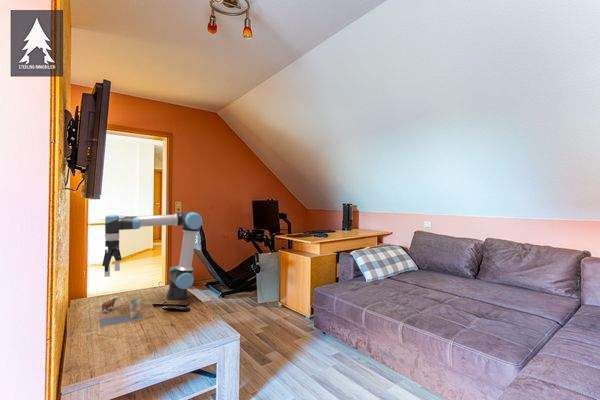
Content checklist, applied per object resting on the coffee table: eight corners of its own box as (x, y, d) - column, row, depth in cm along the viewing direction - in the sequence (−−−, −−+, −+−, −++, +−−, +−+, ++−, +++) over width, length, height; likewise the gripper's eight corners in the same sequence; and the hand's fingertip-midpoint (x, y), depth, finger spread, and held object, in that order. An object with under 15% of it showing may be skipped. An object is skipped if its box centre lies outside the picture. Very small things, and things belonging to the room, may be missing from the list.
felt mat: (141, 312, 193) (141, 312, 193) (142, 319, 183) (143, 319, 183) (100, 319, 182) (100, 319, 182) (99, 327, 171) (99, 327, 171)
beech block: (138, 314, 189) (139, 298, 189) (139, 317, 185) (139, 300, 185) (129, 316, 187) (130, 299, 186) (130, 319, 182) (130, 302, 182)
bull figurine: (120, 307, 202) (120, 295, 202) (105, 315, 189) (105, 302, 189) (114, 306, 203) (114, 294, 202) (98, 314, 189) (98, 301, 189)
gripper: (114, 237, 199) (114, 268, 200) (95, 243, 175) (95, 279, 175) (126, 236, 200) (127, 268, 201) (109, 243, 176) (109, 278, 176)
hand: (112, 273), depth 188 cm, fingers open, 13 cm apart
